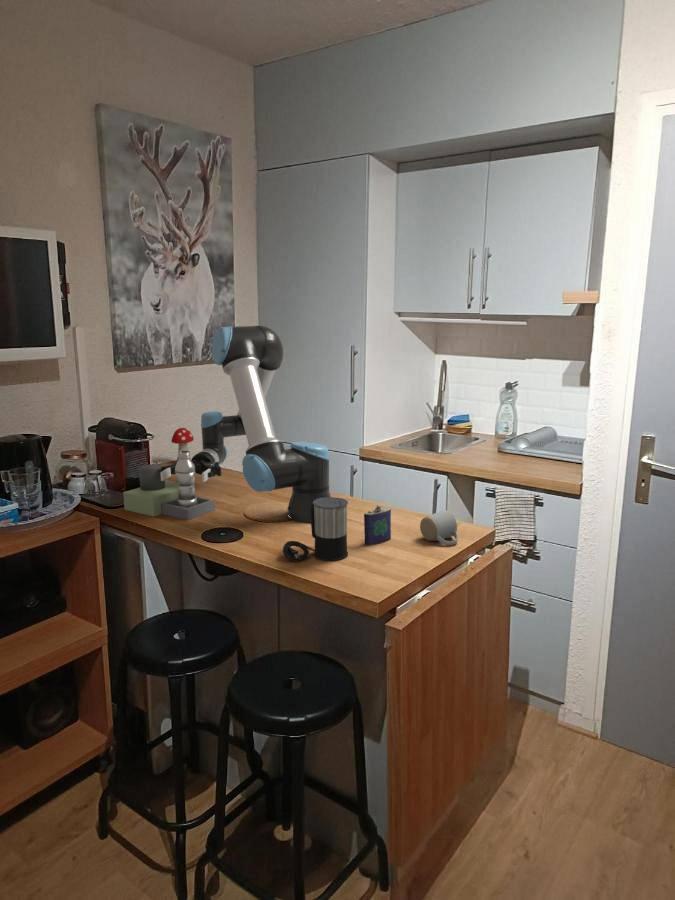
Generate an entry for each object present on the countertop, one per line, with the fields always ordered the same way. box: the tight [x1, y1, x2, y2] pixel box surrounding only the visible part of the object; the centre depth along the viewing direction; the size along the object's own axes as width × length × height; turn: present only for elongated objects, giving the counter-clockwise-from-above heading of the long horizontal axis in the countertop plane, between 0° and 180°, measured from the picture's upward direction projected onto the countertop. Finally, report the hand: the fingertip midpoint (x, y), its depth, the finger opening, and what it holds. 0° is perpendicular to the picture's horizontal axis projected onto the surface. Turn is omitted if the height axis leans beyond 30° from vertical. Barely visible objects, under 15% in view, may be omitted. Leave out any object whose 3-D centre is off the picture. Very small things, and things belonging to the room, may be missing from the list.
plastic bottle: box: [175, 450, 198, 508], centre depth 215 cm, size 6×7×20 cm
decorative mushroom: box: [171, 427, 195, 463], centre depth 285 cm, size 10×9×15 cm
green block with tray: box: [122, 463, 216, 521], centre depth 220 cm, size 26×18×13 cm
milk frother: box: [282, 496, 349, 562], centre depth 177 cm, size 14×16×15 cm
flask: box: [363, 504, 392, 546], centre depth 188 cm, size 9×3×11 cm, turn 127°
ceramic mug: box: [419, 509, 459, 547], centre depth 188 cm, size 11×8×8 cm
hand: (182, 477), depth 212 cm, fingers open, 13 cm apart
